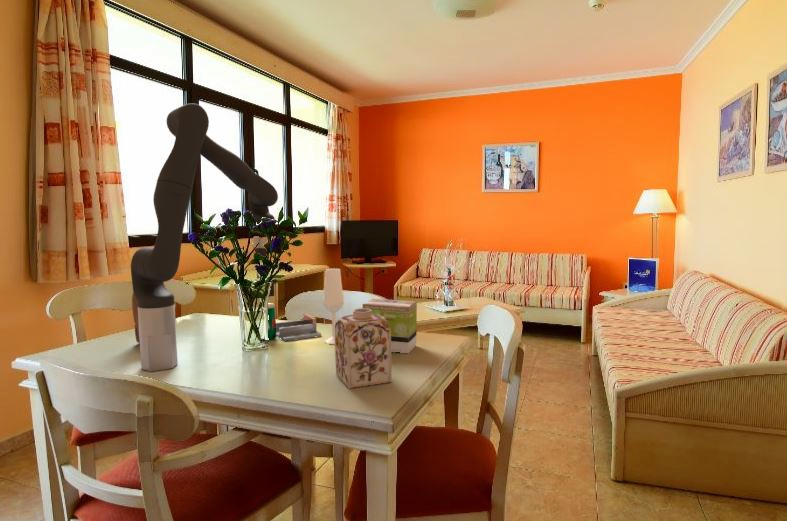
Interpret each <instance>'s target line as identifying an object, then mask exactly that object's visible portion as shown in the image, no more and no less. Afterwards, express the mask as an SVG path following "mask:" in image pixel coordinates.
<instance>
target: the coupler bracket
mask: <svg viewBox="0 0 787 521" xmlns="http://www.w3.org/2000/svg"><path fill="white" fill-rule="evenodd" d="M320 335H321V336H322V333H321V332H320V331H317V318H316V317H314V316H312V315H310V314H308V313H304V314H303V319H296V320H287V321H279V322H276V337H277V336H278V337H279V338H278V337H277V338H278V339H280V338H281V339H282V340H281V339H280V340H281V341H282V342H284V341H285V342H290V341H289V340H292V341H296V340H295V339H299V340H305V339H304V338H306V339H312V338H311V337H313V338H316V337H315V336H320Z"/></svg>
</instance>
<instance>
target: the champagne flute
mask: <svg viewBox="0 0 787 521" xmlns="http://www.w3.org/2000/svg"><path fill="white" fill-rule="evenodd" d="M324 273H325V274H324V284H323V286H324V287H323V300H322V302H323V303H322V304H323V306H324V307H325V309H326V310H327V311H329V312H330V313H331V331H332V333H331V334H332V336H331V337H329V338H327V339H326V340H325V341H326V342H327V343H335V325H336V323H337V321H336V320H337V318H336V316H337V315H336V313H337V312H339V311H340V310H341V309H342V307H343V306H344V303H345V301H344V293H343V284H342V274H341V268H327V269H325V272H324Z"/></svg>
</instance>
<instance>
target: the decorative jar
mask: <svg viewBox="0 0 787 521" xmlns="http://www.w3.org/2000/svg"><path fill="white" fill-rule="evenodd" d="M334 349H335V351H334V354H335V355H334V360H335V372H336V373H335V375H336V376H337V377H338V378H339V379H340V380H341V381H342V382H343V384H344V385H345V386H346V387H347V389H349V388H350V389H355V388H354V387H356V388H361V386H363V387H368V385H370V386H376V385H375V384H377V385H382V384H381V383H383V384H388V383H387V382H389V383H391V382H392V371H393V370H392V358H393V357H392V352H391V330H390V327H389V325H388V323H387V320H386V318H384V317H383V316H380V315H375V314H372V310H371V309H367V308H363V307H360V308H355V309H353V311H352V314H349V315H344V316H342V317H340V318H338V320H337V321H336V325H335V345H334Z"/></svg>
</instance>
